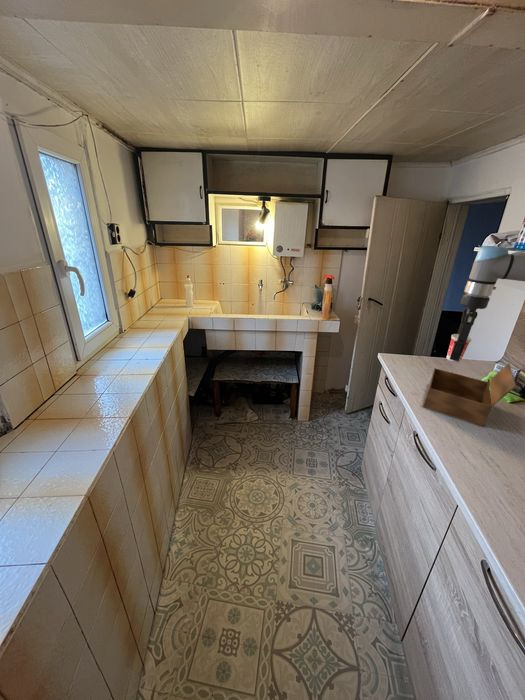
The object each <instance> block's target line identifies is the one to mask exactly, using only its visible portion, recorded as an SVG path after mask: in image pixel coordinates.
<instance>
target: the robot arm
mask: <svg viewBox="0 0 525 700" xmlns="http://www.w3.org/2000/svg"><path fill="white" fill-rule="evenodd" d="M509 250H510V249H509V247H506V246H497V245H496V246H495V245H483V246H481V247H480V248H479V249H478V251H477V254H476V256H475V259H474V262H473V263H472V268H471V271H470V273H469V276H468V279H467V282H466V285H465V286H464V290H463V292H464V293H463V294H462V296H461V299H460V302H459V303H460V305H461V306H462V307H465V309H464V310H463V311H462V316H461V320H460V321H461V322H460V325H459V327H458V330H457V331H456V332H457V333H456V334H459V336H458V339H457V341H454V343H455V345H454V348H453V351H452V354H451V357H450V359H451V360H455V361H459V358H460V356H461V353H462V350H463V348H464V345H465V344H466V341H467V338H468V337H469V335H470V332H471V330H472V327H473V326H474V324H475V320H476V319H477V318H478V311H477V310H484V309H487V308H488V305H489V302H490V299H491V298H490V296H492V294H493V291H496V290H497V286H496V284H497V281H498V280H510V281H517V282H525V252H524V251H515V252H512V253H509Z"/></svg>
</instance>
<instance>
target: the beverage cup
mask: <svg viewBox="0 0 525 700" xmlns="http://www.w3.org/2000/svg"><path fill="white" fill-rule="evenodd" d="M458 336H459V334H458V333H453V334H451V337H450V338H451V339H450V343H449V346H448V350H447V355H446V360H448V361H450V362H453V363H461V362H462V359H463V358H464V355H465V354H466V351H467V348H468V346H469V345H470V343H471V342H472V340H473V338H471V337H470V336H468V338H467V341H466V344H465V345H464V348H463V350H462V353H461V356H460V358H459V361H455V360H451V359H450V357H451V354H452V351H453V348H454V345H455V343H454V341H457V339H458Z"/></svg>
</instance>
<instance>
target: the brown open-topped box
mask: <svg viewBox="0 0 525 700" xmlns="http://www.w3.org/2000/svg"><path fill="white" fill-rule="evenodd" d="M422 405H423V406H422V407H423V408H425V409H428V410H431V411H434V412H437V413H440V414H444V415H446V416H450V417H452V418H455V419H459V420H462V421H465V422H468V423H471V424H474V425H477V426H479V427H484V425H485V423H486V420H487V419H488V416H489V414H490V412H491V410H492V407H493V405H492V399H491V391H490V383H489V382H488V381H485V380H481V379H478V378H475V377H471V376H466V375H462V374H459V373H456V372H451V371H447V370H444V369H439V368H435V367H434V368H433V370H432V374H431V377H430V381H429V383H428V387H427V390H426V394H425V397H424V402H423V404H422Z"/></svg>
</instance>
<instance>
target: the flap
mask: <svg viewBox="0 0 525 700" xmlns="http://www.w3.org/2000/svg"><path fill="white" fill-rule="evenodd" d="M488 381H489V388H490V396H491V404H492V406H495V405H496V404H497V403H498V402H499V401H501V400H502V399H503V398H504V397H505V396H507V395H508V394H509V393H510V392H511V391H513V390H514V389H515V388H516V387H517V384H516V381H515V378H514V374H513V371H512V368H511V363H509V362H508V363H507V364H506V365H504V367H502V368H501V369H500V370H499V371H498V372H497V373H496V374H494V376H492V377H491V378H490V379H489V380H488Z"/></svg>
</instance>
